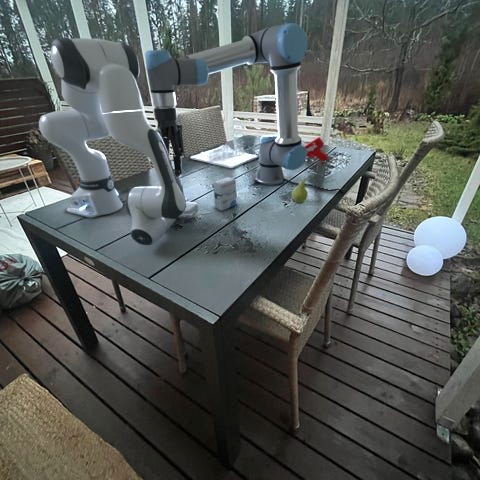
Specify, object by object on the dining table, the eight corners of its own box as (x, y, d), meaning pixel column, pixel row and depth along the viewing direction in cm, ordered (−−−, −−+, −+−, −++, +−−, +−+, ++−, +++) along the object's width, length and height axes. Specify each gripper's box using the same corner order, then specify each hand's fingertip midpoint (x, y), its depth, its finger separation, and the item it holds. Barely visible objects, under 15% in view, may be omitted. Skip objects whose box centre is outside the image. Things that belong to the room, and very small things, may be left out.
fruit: (288, 200, 123) (290, 174, 116) (302, 197, 125) (305, 172, 119) (296, 206, 118) (299, 179, 111) (310, 203, 120) (314, 177, 114)
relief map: (232, 168, 162) (231, 159, 159) (190, 158, 179) (189, 150, 177) (257, 157, 180) (257, 149, 177) (217, 149, 198) (217, 142, 195)
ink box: (228, 201, 122) (228, 176, 116) (236, 204, 119) (236, 179, 113) (214, 207, 117) (212, 181, 111) (222, 211, 114) (220, 184, 108)
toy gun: (332, 156, 168) (319, 135, 164) (331, 158, 165) (319, 137, 161) (306, 172, 178) (294, 152, 174) (305, 174, 175) (293, 154, 171)
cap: (182, 175, 102) (181, 171, 101) (170, 178, 100) (169, 173, 99) (178, 172, 105) (177, 168, 104) (166, 174, 103) (166, 170, 102)
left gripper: (189, 209, 94) (202, 194, 105) (136, 204, 97) (154, 190, 109) (191, 225, 97) (204, 208, 108) (139, 220, 101) (157, 204, 112)
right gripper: (172, 103, 98) (180, 167, 110) (137, 109, 85) (150, 181, 97) (189, 104, 95) (195, 170, 107) (155, 111, 82) (167, 184, 94)
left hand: (178, 199), depth 109 cm, fingers closed on bottle, 5 cm apart
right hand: (174, 175), depth 102 cm, fingers closed on cap, 4 cm apart
